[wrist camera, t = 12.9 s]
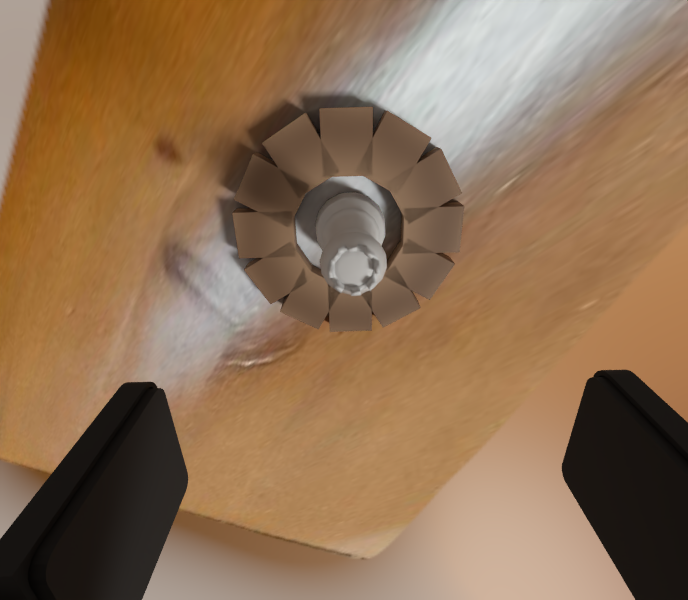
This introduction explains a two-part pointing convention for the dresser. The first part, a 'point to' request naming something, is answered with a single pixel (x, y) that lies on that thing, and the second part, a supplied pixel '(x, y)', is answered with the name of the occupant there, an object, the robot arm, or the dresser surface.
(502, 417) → the dresser surface
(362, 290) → the rook chess piece
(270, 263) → the walnut ring
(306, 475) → the dresser surface
